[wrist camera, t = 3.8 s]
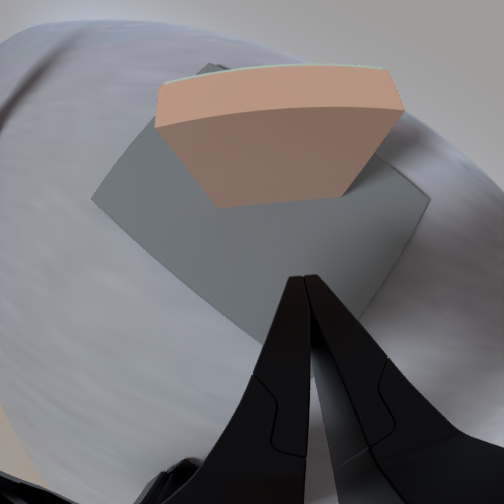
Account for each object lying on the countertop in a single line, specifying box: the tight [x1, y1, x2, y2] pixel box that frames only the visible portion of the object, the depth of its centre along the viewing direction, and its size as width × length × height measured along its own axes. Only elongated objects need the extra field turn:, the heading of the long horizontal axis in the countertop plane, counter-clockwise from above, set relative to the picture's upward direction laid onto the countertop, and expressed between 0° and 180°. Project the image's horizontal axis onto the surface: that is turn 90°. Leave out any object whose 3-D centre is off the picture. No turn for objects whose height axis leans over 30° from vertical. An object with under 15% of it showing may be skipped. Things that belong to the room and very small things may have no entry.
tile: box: [155, 64, 405, 209], centre depth 11 cm, size 2×7×9 cm, turn 95°
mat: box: [91, 63, 429, 379], centre depth 16 cm, size 18×13×1 cm
